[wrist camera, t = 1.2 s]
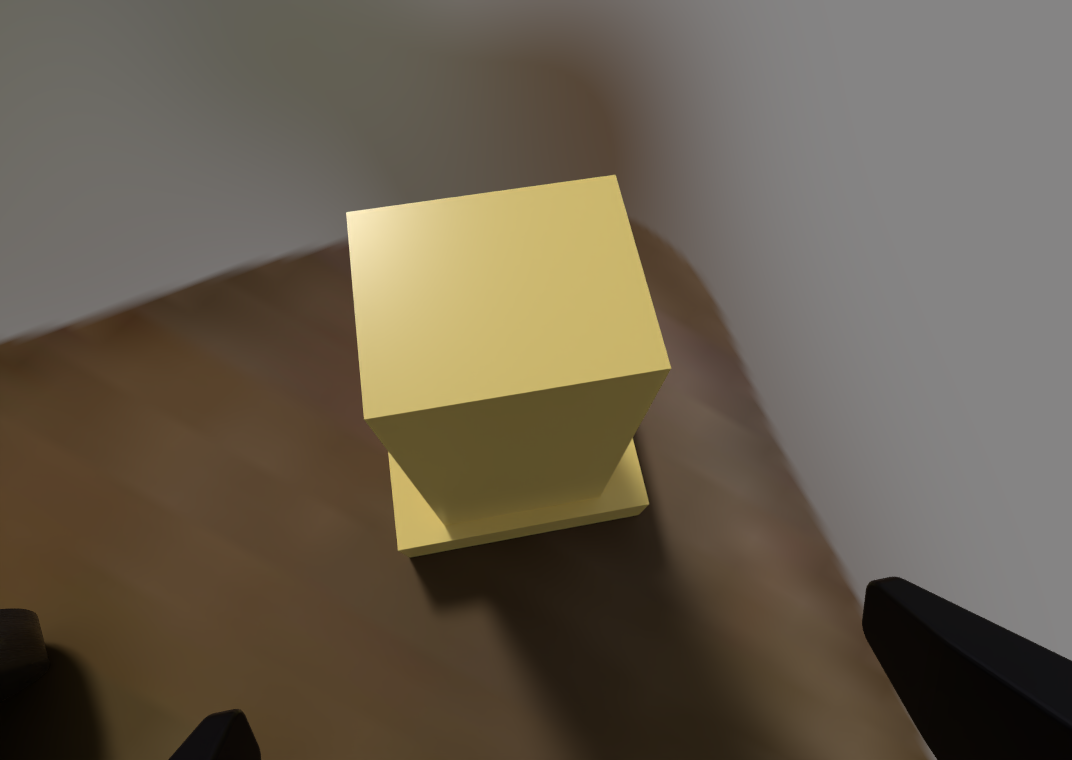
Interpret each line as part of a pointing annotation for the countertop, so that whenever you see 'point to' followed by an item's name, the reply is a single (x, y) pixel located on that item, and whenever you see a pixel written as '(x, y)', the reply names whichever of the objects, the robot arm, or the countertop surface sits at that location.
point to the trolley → (20, 651)
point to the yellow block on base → (505, 360)
